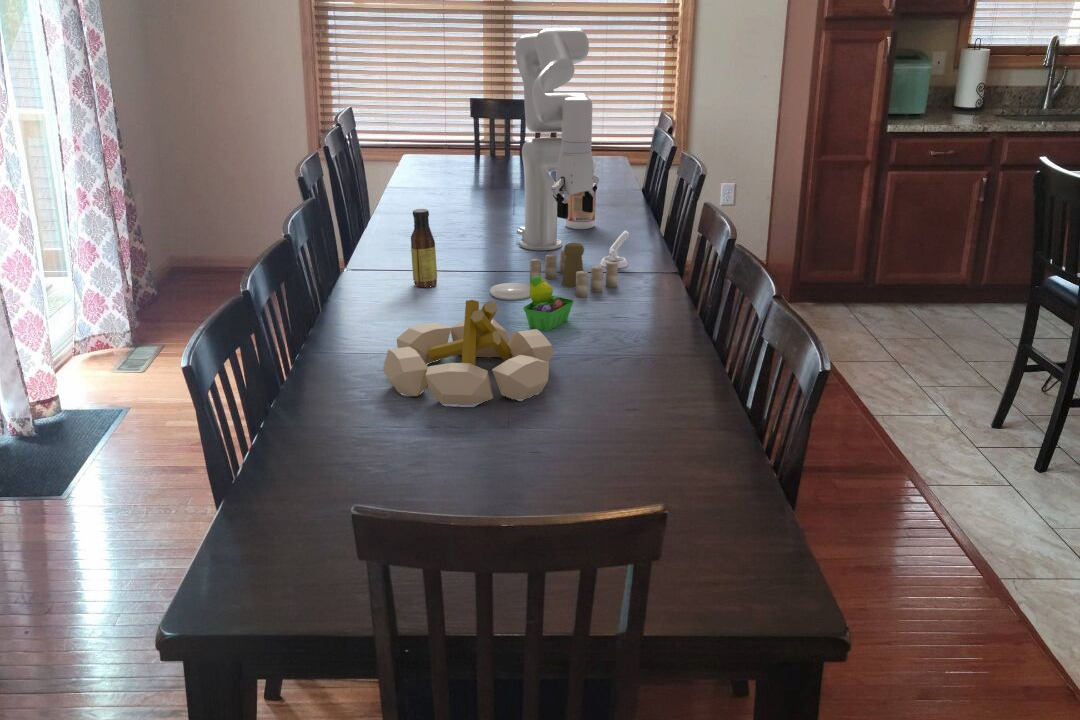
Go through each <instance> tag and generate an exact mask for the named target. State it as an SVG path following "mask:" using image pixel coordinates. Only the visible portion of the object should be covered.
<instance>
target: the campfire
mask: <svg viewBox="0 0 1080 720" xmlns="http://www.w3.org/2000/svg"><path fill="white" fill-rule="evenodd" d="M464 309H465V310H464V311H465V312H464V320H463V321H460V322H459V323H457V324H455V325H452V326H451V327H450V326H447V325H444V324H441V323H439V322H432V323H420V324H418V325H417V324H416V325H415V326H412V327H409V328H407V329H406V330H405V331H404V332H402V334H401V335H399V336H398V337H397V338H396V345H397V346H396V348H389V349H388V350H387V352H386V357H385V360H384V364H383V367H382V372H383V373H384V375H385V376H386V378H387V379H388V380H389V382H390V384H392V386H393V387H394V389H395V390H396V391H397V393H398V392H399V393H403V394H406V395H410V396H409V397H418V396H420V395H421V394H420V393H421V392H422V391H423V390H424V391H425V390H426V388H427V389H428V393H429V394H430V395H431V396H432V397H433V398H434V399H435V400H436V402H438V401H439V402H441V403H442V404H458V405H473V404H477V403H481V402H485V401H487V402H489V401H490V400H492V399H494V394H493V391H492V385H491V379H490V374H489V371H488V370H487V369H484V368H482V367H480V366H477V365H476V359H477V358H476V357H498V358H501V359H502V361H503V362H502V363H500V364H499V365H497V366H495V367H493V368H492V369H491V371H492V373H493V375H494V378H495V381H496V384H497V387H498V389H499V391H500V394H501V396H503V397H505V396H506V397H505V398H508V399H510V398H511V399H510V400H513V399H525V398H528V397H530V396H532V395H535V394H537V393H540V392H541V393H543V390H544V388H545V387H546V385H547V383H548V381H549V372H550V361H551V359H552V358H553V356H554V354H555V350H554V347H553V345H552V344H551V342H550V341H549V340H548V338H547V337H546V336H545V335H544V334H543V333H542V332H541V330H539V329H535V328H533V329H528V330H527V329H526V330H521V331H519V330H518V331H515V332H514V331H513V332H511V333H510V335H509V334H508V333H509V332H508V331H507V330H506V329H505V328H504V327H503V326H502V325H500V323H499V322H497V321H496V320H495V319H494V317H495V316H496V314H497V312H498V310H499V308H498V306H497V303H496V302H494V301H492V300H487V302H485V303H484V304H483V305H482V307H481V309H480V302H479V301H478V300H474V299H469V300H466V301H465V308H464ZM450 335H451V340H452V341H449V338H450ZM458 355H461V362H448V363H443V364H442V363H441V364H436V365H430V366H429V365H426V364H427V363H430V362H433V361H436V360H439V359H441V360H442V359H443V360H444V359H447V358H451V357H455V356H458ZM399 393H398V394H399ZM488 400H489V401H488ZM439 402H438V403H439ZM485 403H486V402H485Z"/></svg>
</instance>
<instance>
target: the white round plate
mask: <svg viewBox="0 0 1080 720" xmlns="http://www.w3.org/2000/svg"><path fill="white" fill-rule="evenodd" d="M489 291H490V293H491V294H490V295H491V297H493V296H494V297H493V298H496V299H500V300H505V301H506V300H507V301H508V300H509V301H510V300H511V301H512V300H513V301H518V300H525V299H529V298H530V294H529V291H530V284H526V283H518V282H504V283H497V284H495V285H493V286H491V287H490V290H489Z"/></svg>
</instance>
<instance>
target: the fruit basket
mask: <svg viewBox="0 0 1080 720" xmlns="http://www.w3.org/2000/svg"><path fill="white" fill-rule="evenodd" d="M529 286H530V291H529V294H530V297H529V298H530V300H531V302H530V303H528V304H525V305H524V306H523V311H524V312H525V316H526V319H527V323H528V326H529V328H531V329H537V330H539V331H546V332H550V331H551V330H553V329H554V328H556V327H557V326H560V325H562V324H563V323H566V322H567V321H568V319H569V316H570V312H571V308H572V306H573V304H574V300H573V299H571V298H566V297H561V296H558V295H557V296H556V295H553V293H554V290H553V287H552V286H551V284H549V283H548V282H547V281H546V280H544V278H542V276H541V277H539V276H534V277H533V278H532V279H531V280H530V279H529ZM552 328H553V329H552Z"/></svg>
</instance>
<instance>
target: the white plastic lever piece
mask: <svg viewBox="0 0 1080 720" xmlns="http://www.w3.org/2000/svg"><path fill="white" fill-rule="evenodd" d="M629 235H630V233H629V232H628V231H627V230H624V231H623V232H622V233H621V234H620V235H619V236H618V237H617V239H616V240H615V241H614V243H613V244H612V245H611V247H609V248H608V251H609V252H608V256H604V257H603V258H602V260H601V261H600V267H603V268H606V263H607V262H617V263H618V269H621V268H626V267H628V265H629V264H628V261H627V260H626V258H625V257H623V256H619V254H618V249H619V248H620V246H622V244H623V243H624V242H625V241H626V240H627V238H628V237H629Z"/></svg>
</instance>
